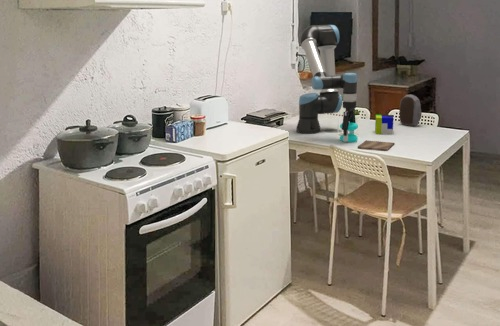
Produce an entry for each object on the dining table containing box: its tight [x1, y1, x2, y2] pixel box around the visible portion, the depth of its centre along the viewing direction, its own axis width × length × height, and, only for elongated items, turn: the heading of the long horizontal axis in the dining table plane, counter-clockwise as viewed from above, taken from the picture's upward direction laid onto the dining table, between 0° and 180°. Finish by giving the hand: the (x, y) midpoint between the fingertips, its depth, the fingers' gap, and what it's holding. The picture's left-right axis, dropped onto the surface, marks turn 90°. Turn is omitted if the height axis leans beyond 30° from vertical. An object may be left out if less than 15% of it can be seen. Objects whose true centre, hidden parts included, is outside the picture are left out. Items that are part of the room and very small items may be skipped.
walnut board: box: [357, 140, 395, 152], centre depth 288 cm, size 16×16×1 cm
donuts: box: [339, 122, 359, 143], centre depth 302 cm, size 10×10×10 cm
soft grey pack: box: [398, 94, 423, 126], centre depth 338 cm, size 15×8×20 cm, turn 36°
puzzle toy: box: [374, 114, 394, 135], centre depth 320 cm, size 10×10×10 cm
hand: (348, 139), depth 303 cm, fingers open, 11 cm apart
